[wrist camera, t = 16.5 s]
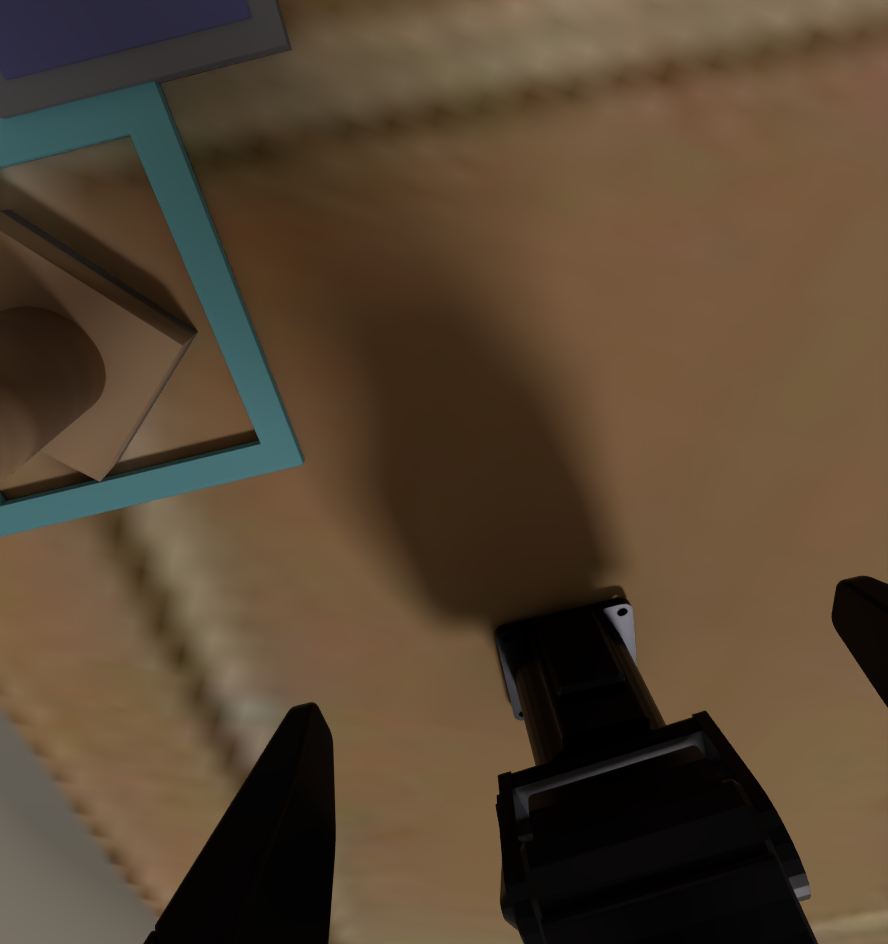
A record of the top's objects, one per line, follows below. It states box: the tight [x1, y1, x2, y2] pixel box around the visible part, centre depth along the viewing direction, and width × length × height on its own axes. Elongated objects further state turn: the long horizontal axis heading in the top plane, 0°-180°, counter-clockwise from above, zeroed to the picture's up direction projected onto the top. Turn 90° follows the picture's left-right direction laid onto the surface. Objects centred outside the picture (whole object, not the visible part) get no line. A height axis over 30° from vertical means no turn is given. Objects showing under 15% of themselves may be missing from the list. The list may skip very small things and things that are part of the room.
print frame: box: [0, 81, 305, 537], centre depth 19 cm, size 12×12×1 cm
